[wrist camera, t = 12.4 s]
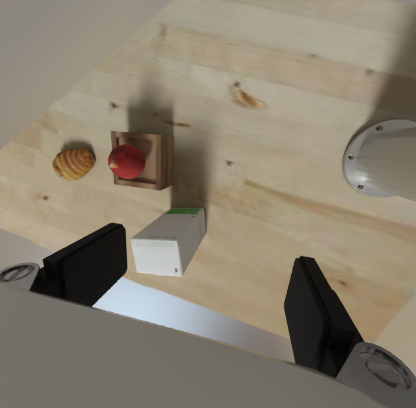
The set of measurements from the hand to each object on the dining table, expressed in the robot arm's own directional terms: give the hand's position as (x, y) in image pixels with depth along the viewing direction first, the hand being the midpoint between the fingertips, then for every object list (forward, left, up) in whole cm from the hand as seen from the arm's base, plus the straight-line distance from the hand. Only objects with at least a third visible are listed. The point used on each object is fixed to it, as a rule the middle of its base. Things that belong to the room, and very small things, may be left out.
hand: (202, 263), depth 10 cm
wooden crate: (+19, -2, -30) cm, 36 cm away
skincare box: (+10, +11, -31) cm, 34 cm away
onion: (+19, -2, -26) cm, 32 cm away
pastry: (+38, +1, -31) cm, 49 cm away
